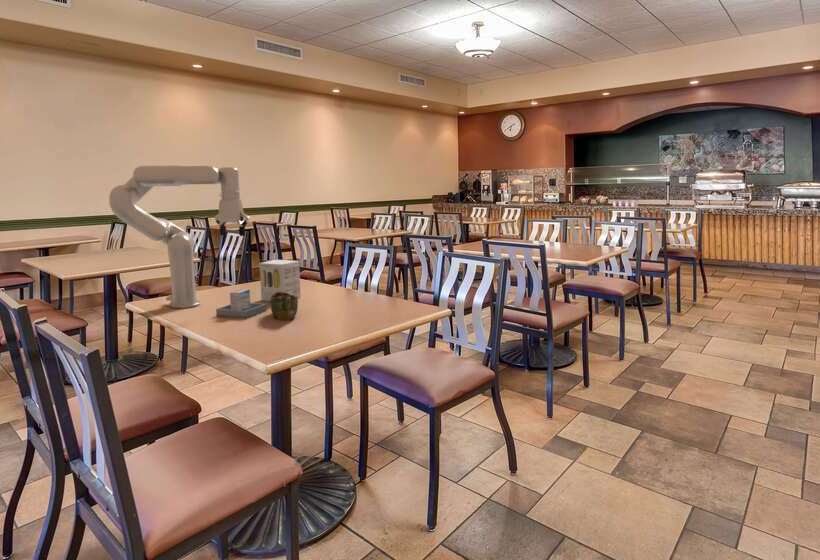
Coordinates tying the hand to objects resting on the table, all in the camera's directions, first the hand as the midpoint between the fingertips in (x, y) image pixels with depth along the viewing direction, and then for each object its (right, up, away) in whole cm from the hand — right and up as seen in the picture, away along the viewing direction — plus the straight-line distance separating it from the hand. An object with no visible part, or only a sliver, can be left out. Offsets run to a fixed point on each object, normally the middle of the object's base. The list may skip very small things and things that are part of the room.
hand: (232, 235), depth 230 cm
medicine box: (+9, -33, -16) cm, 37 cm away
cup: (+28, -35, -21) cm, 49 cm away
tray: (+9, -33, -16) cm, 38 cm away
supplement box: (+18, -29, +14) cm, 36 cm away
